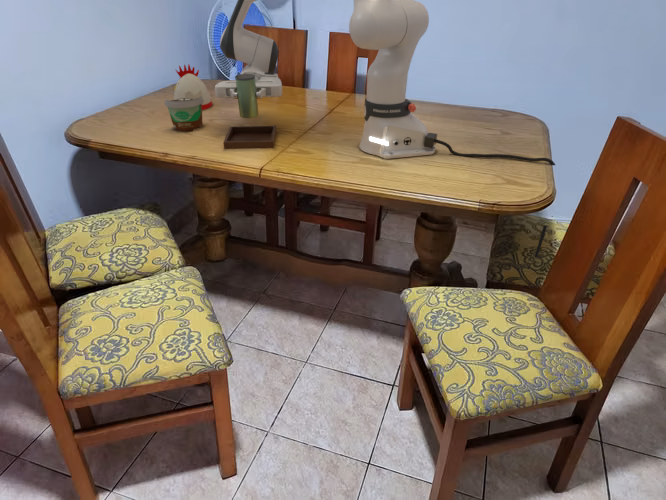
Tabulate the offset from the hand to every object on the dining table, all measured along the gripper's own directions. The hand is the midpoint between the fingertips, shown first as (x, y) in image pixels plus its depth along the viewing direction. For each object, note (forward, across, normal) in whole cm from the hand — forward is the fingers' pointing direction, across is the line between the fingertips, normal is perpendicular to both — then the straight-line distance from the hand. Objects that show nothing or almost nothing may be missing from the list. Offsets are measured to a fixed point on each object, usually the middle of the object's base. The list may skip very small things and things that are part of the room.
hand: (246, 95), depth 135 cm
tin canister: (-1, 0, +6) cm, 6 cm away
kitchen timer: (-42, -26, +14) cm, 51 cm away
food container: (-13, -22, +14) cm, 29 cm away
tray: (-1, 0, +14) cm, 14 cm away
